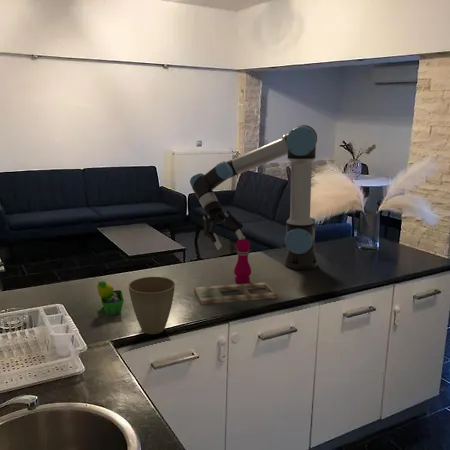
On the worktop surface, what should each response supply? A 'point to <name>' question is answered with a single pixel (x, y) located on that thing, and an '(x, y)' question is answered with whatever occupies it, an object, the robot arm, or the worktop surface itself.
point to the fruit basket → (110, 298)
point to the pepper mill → (242, 262)
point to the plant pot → (152, 302)
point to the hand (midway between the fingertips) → (232, 245)
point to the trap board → (215, 296)
